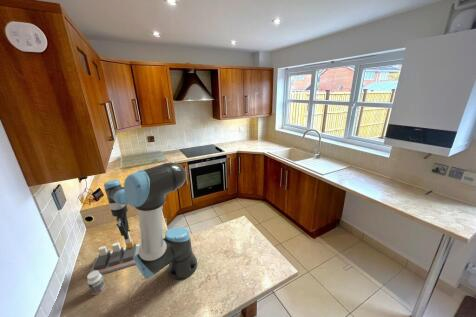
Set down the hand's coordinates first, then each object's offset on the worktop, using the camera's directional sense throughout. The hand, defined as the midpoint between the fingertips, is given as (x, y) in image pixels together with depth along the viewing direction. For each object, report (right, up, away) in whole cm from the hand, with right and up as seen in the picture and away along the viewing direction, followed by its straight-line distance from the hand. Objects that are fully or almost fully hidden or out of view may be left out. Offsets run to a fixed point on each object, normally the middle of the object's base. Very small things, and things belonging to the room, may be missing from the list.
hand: (128, 242), depth 112 cm
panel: (-6, -10, -1) cm, 12 cm away
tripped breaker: (-1, -4, +3) cm, 5 cm away
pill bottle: (-4, -15, -19) cm, 24 cm away
